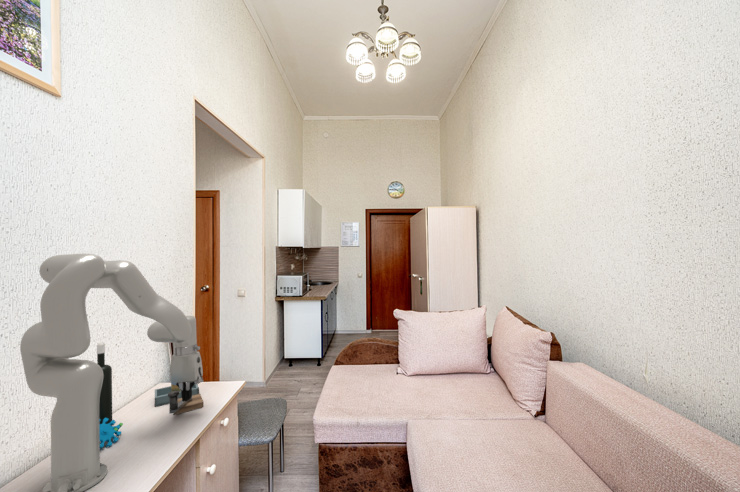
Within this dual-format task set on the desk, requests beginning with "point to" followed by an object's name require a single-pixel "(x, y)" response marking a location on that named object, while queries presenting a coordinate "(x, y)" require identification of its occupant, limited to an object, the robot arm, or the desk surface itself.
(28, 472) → the desk surface
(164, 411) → the desk surface
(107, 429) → the blue lobed piece
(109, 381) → the wine bottle
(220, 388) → the desk surface
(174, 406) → the crank
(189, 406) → the crank base
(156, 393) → the tray
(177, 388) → the block
